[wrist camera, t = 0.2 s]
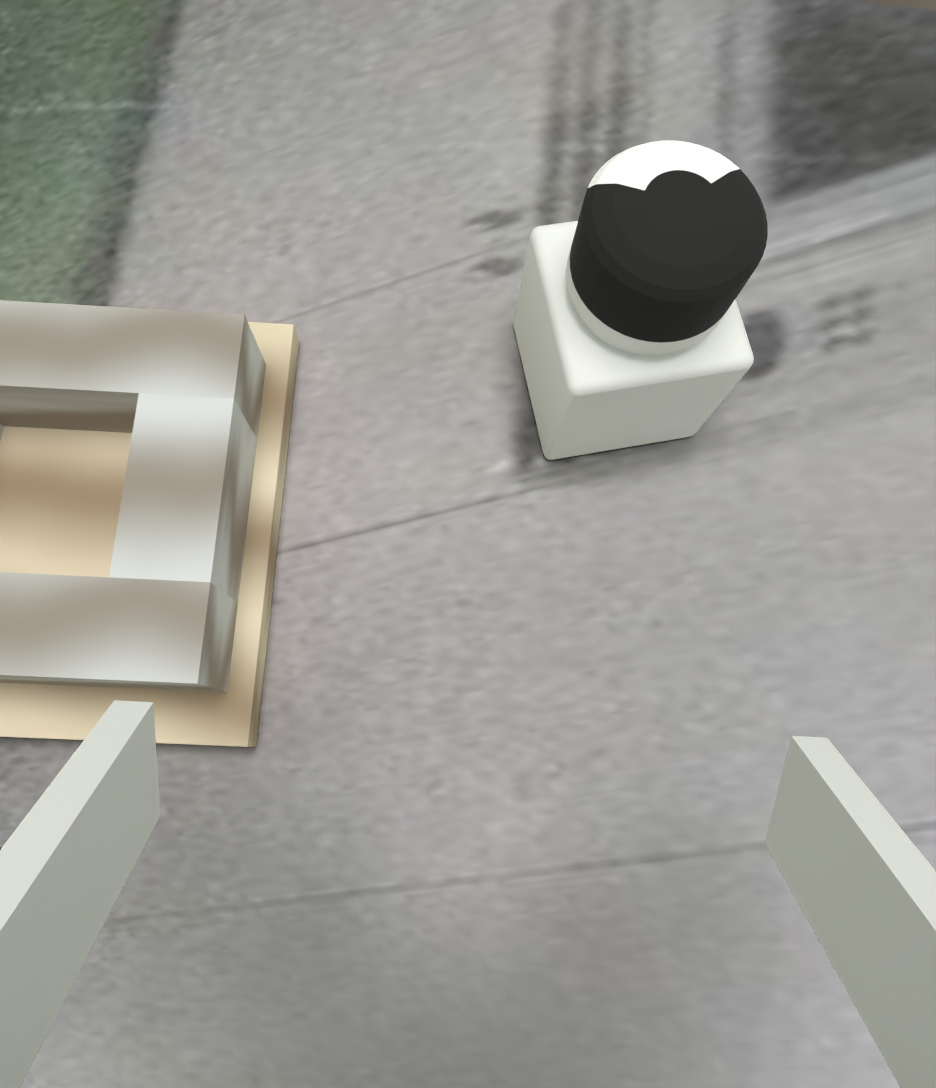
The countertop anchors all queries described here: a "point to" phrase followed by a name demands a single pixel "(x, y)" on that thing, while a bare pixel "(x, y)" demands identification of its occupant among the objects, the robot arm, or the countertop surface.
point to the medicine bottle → (640, 301)
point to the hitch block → (139, 516)
